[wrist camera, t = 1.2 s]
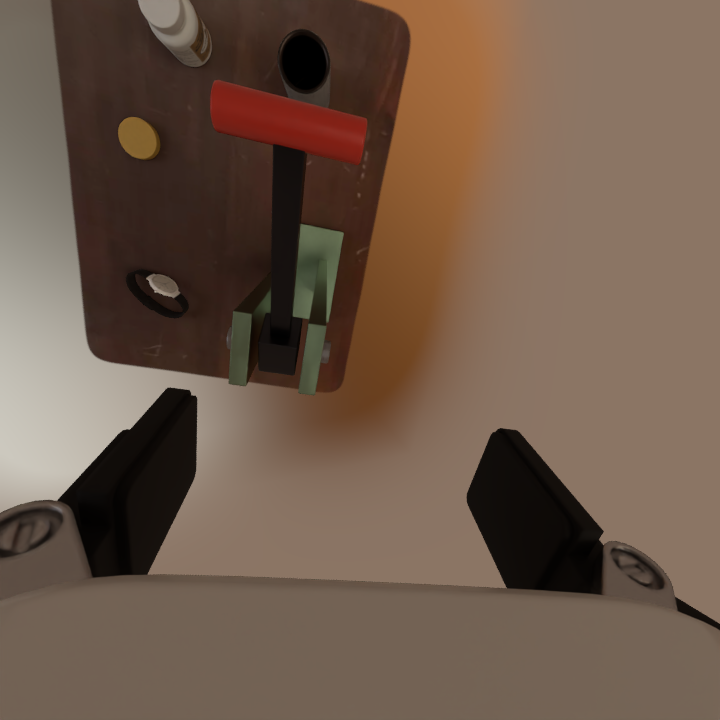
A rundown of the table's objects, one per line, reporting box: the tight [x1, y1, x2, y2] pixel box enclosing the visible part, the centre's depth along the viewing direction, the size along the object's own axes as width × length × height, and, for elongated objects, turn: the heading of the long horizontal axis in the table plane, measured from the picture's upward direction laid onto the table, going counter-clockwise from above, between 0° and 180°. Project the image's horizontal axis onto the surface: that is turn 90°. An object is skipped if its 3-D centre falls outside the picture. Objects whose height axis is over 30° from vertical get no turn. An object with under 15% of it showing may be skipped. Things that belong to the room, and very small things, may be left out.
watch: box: [126, 269, 189, 318], centre depth 45 cm, size 8×5×4 cm, turn 48°
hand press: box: [227, 223, 344, 395], centre depth 33 cm, size 12×8×30 cm, turn 169°
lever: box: [210, 80, 367, 375], centre depth 17 cm, size 14×5×2 cm, turn 169°
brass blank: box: [118, 117, 160, 160], centre depth 39 cm, size 4×4×1 cm
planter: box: [278, 29, 330, 108], centre depth 35 cm, size 4×4×10 cm
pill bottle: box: [138, 0, 212, 67], centre depth 33 cm, size 4×4×8 cm
